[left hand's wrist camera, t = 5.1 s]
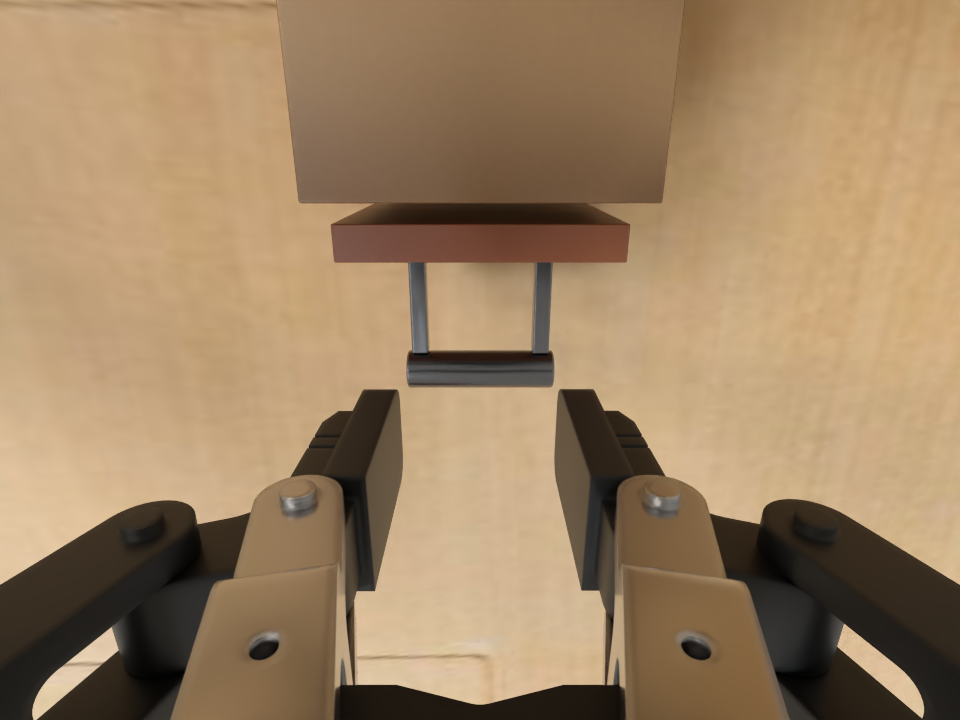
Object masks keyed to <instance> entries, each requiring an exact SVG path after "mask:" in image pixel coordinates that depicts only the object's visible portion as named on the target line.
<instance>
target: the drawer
mask: <svg viewBox="0 0 960 720" xmlns="http://www.w3.org/2000/svg"><path fill="white" fill-rule="evenodd" d="M629 232H630V224H628V223H626V222H624V221H622V220H619V219H617V218H615V217H613V216H611V215H609V214H607V213H605V212H603V211H601V210H599V209H597V208H594V207H592V206H590V205H588V204H586V203H375V204H373V205H371V206H368V207H366V208H364V209H362V210H360V211H358V212H356V213H354V214H352V215H350V216H348V217H346V218H344V219H341V220H339V221H337V222H335V223H333V224H331V233H332V243H333V254H334V262H408V267H409V288H410V310H411V332H412V350H410V351H409V352H408V355H407V383H408V386H409V387H552V385H553V382H554V357H553V353H552V351H550V350H549V329H550V307H551V286H552V264H553V262H626V261H627V253H628V242H629ZM427 262H534V285H533V314H532V342H531V349H532V350H429V320H428V291H427Z"/></svg>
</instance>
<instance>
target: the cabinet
mask: <svg viewBox="0 0 960 720" xmlns="http://www.w3.org/2000/svg"><path fill="white" fill-rule="evenodd" d="M276 3H277V12H278V21H279V30H280V39H281V48H282V57H283V65H284V74H285V83H286V92H287V101H288V110H289V119H290V128H291V137H292V146H293V155H294V164H295V173H296V182H297V190H298V199H299V202H300V203H661V202H662V199H663V190H664V181H665V172H666V163H667V154H668V146H669V137H670V128H671V119H672V110H673V101H674V92H675V83H676V74H677V65H678V57H679V48H680V39H681V30H682V21H683V12H684V3H685V0H276Z"/></svg>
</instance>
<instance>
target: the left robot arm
mask: <svg viewBox="0 0 960 720" xmlns="http://www.w3.org/2000/svg"><path fill="white" fill-rule="evenodd" d="M402 469H403V450H402V432H401V414H400V399H399V393H398V390H363V391H362V393H361V395H360V397H359V399H358V401H357V403H356V405H355V408H354V410H353V411H338V412H337V413H335V414H334V415H332V416H331V417H330V418H328V419H327V420H325V421H324V422H322V424H321V426H320V428H319V429H318V431H317V433H316V434H315V438H313V440H312V441H311V443H310V445H309V448H307V450H306V451H305V453H304V455H303V457H302V458H301V460H300V462H299V463H298V465H297V467H296V469H295V470H294V472H293V474H292V475H291V477H290V478H287V479H284V480H281V481H278V482H276V483H274V484H272V485H270V486H269V487H267V488H266V489H264V490H263V491H262V492H261V493H260V494H259V495H258V496H257V497H256V499H255V500H254V503H253V506H252V510H251V512H250V513H247V514H244V515H241V516H237V517H233V518H228V519H223V520H218V521H213V522H208V523H203V524H197V519H196V515H195V511H194V509H193V508H192V507H191V506H190V505H188V504H186V503H183V502H179V501H169V500H168V501H156V502H150V503H145V504H141V505H138V506H135V507H132V508H129V509H127V510H124V511H122V512H120V513H118V514H116V515H114V516H113V517H111V518H109V519H107V520H106V521H104V522H103V523H101V524H99V525H98V526H96V527H94V528H93V529H91V530H89V531H88V532H86V533H85V534H83V535H81V536H80V537H78V538H76V539H75V540H73V541H71V542H70V543H68V544H67V545H65V546H63V547H62V548H60V549H58V550H57V551H55V552H53V553H52V554H50V555H49V556H47V557H45V558H44V559H42V560H40V561H39V562H37V563H35V564H34V565H32V566H31V567H29V568H27V569H26V570H24V571H22V572H21V573H19V574H17V575H16V576H14V577H13V578H11V579H9V580H8V581H6V582H4V583H3V584H1V585H0V720H33V717H32V708H33V704H34V701H35V698H36V696H37V694H38V692H39V690H40V689H41V687H42V686H43V684H44V683H45V682H46V681H47V679H48V678H49V677H50V676H51V675H52V674H53V673H55V672H56V671H57V670H58V669H59V668H60V667H62V666H63V665H64V664H65V663H67V662H68V661H69V660H71V659H72V658H73V657H74V656H76V655H77V654H78V653H79V652H81V651H82V650H83V649H84V648H86V647H87V646H88V645H89V644H91V643H92V642H93V641H94V640H96V639H97V638H98V637H99V636H101V635H102V634H103V633H104V632H106V631H107V630H108V629H109V628H111V627H112V629H113V633H114V636H115V639H116V642H117V646H118V649H119V651H117V652H116V653H115V654H114V655H113V656H112V657H110V658H109V659H108V660H107V661H106V662H104V663H103V664H102V665H101V666H100V667H99V668H97V669H96V670H95V671H94V672H93V673H91V674H90V675H89V676H88V677H87V678H86V679H84V680H83V681H82V682H81V683H80V684H78V685H77V686H76V687H75V688H74V689H73V690H71V691H70V692H69V693H68V694H67V695H65V696H64V697H63V698H62V699H61V700H60V701H58V702H57V703H56V704H55V705H54V706H52V707H51V708H50V709H49V710H48V711H47V712H45V713H44V714H43V715H42V716H41V717H39V718H38V719H37V720H960V585H959V584H957V583H956V582H954V581H952V580H951V579H949V578H947V577H946V576H944V575H943V574H941V573H939V572H938V571H936V570H934V569H933V568H931V567H929V566H928V565H926V564H925V563H923V562H921V561H920V560H918V559H916V558H915V557H913V556H911V555H910V554H908V553H907V552H905V551H903V550H902V549H900V548H898V547H897V546H895V545H893V544H892V543H890V542H889V541H887V540H885V539H884V538H882V537H880V536H879V535H877V534H875V533H874V532H872V531H871V530H869V529H867V528H866V527H864V526H862V525H861V524H859V523H857V522H856V521H854V520H853V519H851V518H849V517H848V516H846V515H844V514H842V513H840V512H839V511H836V510H834V509H832V508H829V507H827V506H824V505H821V504H818V503H814V502H810V501H805V500H797V499H784V500H777V501H774V502H771V503H769V504H768V505H766V507H765V508H764V510H763V513H762V518H761V522H760V524H756V523H750V522H745V521H740V520H735V519H730V518H725V517H721V516H716V515H713V514H710V513H709V510H708V506H707V503H706V500H705V499H704V497H703V496H702V495H701V494H700V493H699V492H698V491H697V490H696V489H694V488H693V487H691V486H690V485H688V484H686V483H684V482H682V481H679V480H676V479H673V478H670V477H666V476H665V475H664V473H663V471H662V469H661V468H660V466H659V464H658V462H657V461H656V459H655V457H654V455H653V454H652V452H651V450H650V448H648V445H647V443H646V441H645V440H644V438H643V437H642V435H641V433H640V431H639V429H638V428H637V426H636V424H635V422H634V421H632V420H631V419H629V418H628V417H626V416H625V415H623V414H622V413H621V412H619V411H604V410H603V408H602V405H601V403H600V401H599V399H598V397H597V395H596V393H595V391H594V390H593V389H560V390H559V393H558V401H557V419H556V437H555V476H556V482H557V487H558V491H559V495H560V500H561V504H562V508H563V513H564V517H565V521H566V526H567V530H568V534H569V538H570V543H571V547H572V551H573V556H574V560H575V564H576V569H577V573H578V577H579V581H580V586H581V590H599V591H600V594H601V598H602V602H603V605H604V607H605V616H604V635H603V685H561V686H557V687H554V688H550V689H546V690H542V691H538V692H534V693H530V694H526V695H522V696H518V697H514V698H510V699H506V700H502V701H498V702H494V703H490V704H484V705H476V704H470V703H466V702H462V701H458V700H454V699H450V698H446V697H442V696H438V695H434V694H430V693H426V692H422V691H418V690H414V689H410V688H406V687H403V686H399V685H357V636H356V616H355V606H354V599H355V595H356V591H375V588H376V584H377V580H378V575H379V571H380V567H381V563H382V559H383V555H384V550H385V546H386V542H387V538H388V534H389V530H390V526H391V521H392V517H393V513H394V509H395V505H396V501H397V496H398V492H399V488H400V484H401V479H402ZM844 624H846V625H847V626H848V627H849V628H851V629H852V630H853V631H854V632H856V633H857V634H858V635H859V636H861V637H862V638H863V639H864V640H866V641H867V642H868V643H869V644H871V645H872V646H873V647H874V648H876V649H877V650H878V651H879V652H881V653H882V654H883V655H884V656H886V657H887V658H888V659H889V660H891V661H892V662H893V663H894V664H896V665H897V666H898V667H899V668H901V669H902V670H903V671H904V672H905V673H906V674H907V675H908V676H909V677H910V678H911V680H912V681H913V682H914V684H915V685H916V687H917V688H918V690H919V692H920V694H921V697H922V700H923V703H924V715H923V718H921V717H919V716H918V715H917V714H916V713H915V712H913V711H912V710H911V709H910V708H909V707H908V706H906V705H905V704H904V703H903V702H902V701H900V700H899V699H898V698H897V697H896V696H895V695H893V694H892V693H891V692H890V691H889V690H887V689H886V688H885V687H884V686H883V685H882V684H880V683H879V682H878V681H877V680H876V679H874V678H873V677H872V676H871V675H870V674H869V673H867V672H866V671H865V670H864V669H863V668H861V667H860V666H859V665H858V664H857V663H856V662H854V661H853V660H852V659H851V658H850V657H848V656H847V655H846V654H845V653H844V652H843V651H841V650H840V649H839V648H838V647H837V645H838V641H839V638H840V635H841V631H842V628H843V625H844Z"/></svg>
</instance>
